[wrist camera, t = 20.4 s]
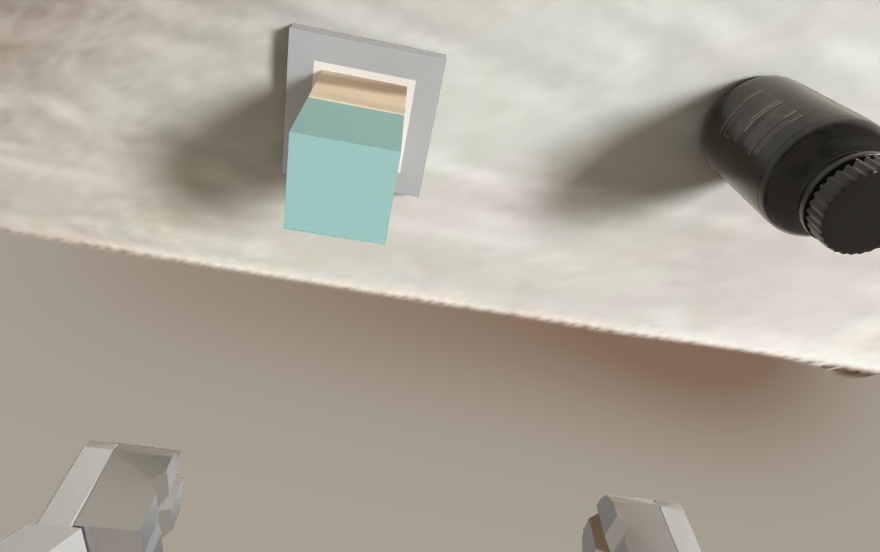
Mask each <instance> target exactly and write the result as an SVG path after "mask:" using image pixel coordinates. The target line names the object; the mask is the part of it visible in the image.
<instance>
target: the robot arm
mask: <svg viewBox="0 0 880 552" xmlns="http://www.w3.org/2000/svg"><path fill="white" fill-rule="evenodd" d="M181 463H182V459H181V451H177V450H170V449H162V448H154V447H146V446H138V445H130V444H122V443H115V442H106V441H96V440H90V441H89V442H88V443H87V444H86V445H85V446H84V447H83V448H82V450H81V451H80V453H79V455H78V456H77V458H76V459H75V461H74V463H73V464H72V466H71V468H70V469H69V471H68V473H67V474H66V476H65V478H64V479H63V481H62V482H61V484H60V486H59V487H58V489H57V491H56V492H55V494H54V496H53V497H52V499H51V500H50V502H49V504H48V505H47V507H46V509H45V510H44V512H43V514H42V515H41V517H40V519H39V520H38V522H37V523H36V524H34V523H27V524H25V525H24V526H22V527H20V528H19V529H18V530H16V531H15V532H13V533H12V534H10V535H9V536H7V537H6V538H4V539H3V540H1V541H0V552H163V545H162V538H163V537H164V536H165V535H166V534H168V533H169V532H170V531H172V530H173V527H174V525H175V522H176V519H177V516H178V513H179V510H180V505H181V502H182V497H183V487H184V486H183V477H182V476H181V475H180V474H179V473H178V470H179V468H180V466H181ZM597 509H598V514H596V515H595V516H593V517H591V518H589V519H588V521H587V523H586V525H585V527H584V530H583V537H582V550H583V552H701V550H700V548H699V546H698V543H697V541H696V538H695V536H694V534H693V532H692V529H691V527H690V524H689V522H688V519H687V517H686V515H685V512H684V510H683V508H682V507H681V506H680V505H679V504H678V503H676V502H668V501H656V500H651V499H644V498H633V497H622V496H611V495H606V496H604V497H602V498H601V499H600V500H599V502H598V504H597Z"/></svg>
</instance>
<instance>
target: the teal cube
mask: <svg viewBox="0 0 880 552" xmlns="http://www.w3.org/2000/svg"><path fill="white" fill-rule="evenodd" d="M403 125H404V115H400V114H395V113H390V112H384V111H379V110H374V109H369V108H363V107H358V106H353V105H348V104H342V103H337V102H332V101H327V100H321V99H316V98H311V97H308V98H307V100H306V102H305V104H304V105H303V107H302V109H301V111H300V113H299V115H298V117H297V118H296V120H295V122H294V124H293V126H292V128H291V129H290V131H289V144H288V162H287V179H286V196H285V214H284V229H288V230H294V231H300V232H307V233H313V234H319V235H325V236H332V237H338V238H344V239H351V240H357V241H363V242H369V243H376V244H382V245H385V242H386V237H387V231H388V225H389V219H390V213H391V208H392V202H393V196H394V190H395V185H396V179H397V173H398V167H399V162H400V156H401V148H402V136H403Z"/></svg>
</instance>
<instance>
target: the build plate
mask: <svg viewBox="0 0 880 552" xmlns="http://www.w3.org/2000/svg"><path fill="white" fill-rule="evenodd" d="M445 63H446V55H444V54H439V53H434V52H429V51H424V50H419V49H414V48H410V47H405V46H400V45H395V44H390V43H385V42H380V41H376V40H371V39H366V38H361V37H356V36H351V35H346V34H342V33H337V32H332V31H327V30H322V29H317V28H312V27H307V26H303V25H298V24H292V26H291V27H290V28H289V43H288V62H287V81H286V100H285V119H284V138H283V157H282V174H287V162H288V144H289V131H290V129H291V128H292V126H293V124H294V122H295V120H296V118H297V117H298V115H299V113H300V111H301V109H302V107H303V105H304V104H305V102H306V100H307V98H308V96H309V94H310V92H311V90H312V89H313V87H314V85H315V83H316V81H317V79H318V78H319V76H320V74H321V72H322V70H326V71H331V72H337V73H342V74H347V75H352V76H357V77H362V78H367V79H372V80H377V81H382V82H387V83H392V84H397V85H403V86H407V95H406V106H405V116H404V125H403V136H402V148H401V156H400V162H399V167H398V173H397V179H396V185H395V190H394V193H397V194H403V195H409V196H414V197H419V193H420V188H421V183H422V178H423V173H424V168H425V163H426V158H427V153H428V148H429V143H430V138H431V133H432V128H433V123H434V118H435V113H436V108H437V103H438V98H439V93H440V88H441V83H442V78H443V73H444V68H445Z"/></svg>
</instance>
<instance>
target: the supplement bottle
mask: <svg viewBox="0 0 880 552" xmlns="http://www.w3.org/2000/svg"><path fill="white" fill-rule="evenodd" d="M702 147H703V152H704V155H705V158H706V160H707V161H708V163H709V164H710V166H711V167H712V168H713V169H714V170H715V171H716V172H717V173H718V174H719V175H720V176H721V177H722V178H723V179H724V180H725V181H726V182H727V183H728V184H729V185H730V186H731V187H732V188H733V189H735V190H736V191H737V192H738V193H739V194H740V195H741V196H742V197H743V198H744V199H745V200H746V201H747V202H748V203H749V204H750V205H751V206H752V207H753V208H754V209H755V210H756V211H757V212H758V213H759V214H760V215H762V216H763V217H764V218H765V219H766V220H767V221H768V222H769V223H770V224H772V225H773V226H774V227H775V228H777V229H778V230H780V231H782V232H785V233H788V234H791V235H796V236H807V237H811V236H813V237H814V238H816V239H818V240H819V241H820V242H821V243H822V244H824V245H825V246H826V247H828V248H830V249H831V250H833V251H835V252H840V253H841V254H847V253H848V254H850V255H852V254H856V253H857V254H861V253H864V252H870V251H872V250H873V249H876V248H880V126H879V125H877V124H876V123H874V122H872V121H871V120H869V119H867V118H865V117H863V116H862V115H860V114H858V113H856V112H854V111H852V110H850V109H848V108H846V107H844V106H843V105H841V104H839V103H837V102H835V101H833V100H831V99H829V98H827V97H825V96H824V95H822V94H820V93H818V92H816V91H814V90H812V89H810V88H808V87H806V86H804V85H803V84H800V83H798V82H796V81H794V80H792V79H789V78H786V77H782V76H762V77H757V78H754V79H751V80H748V81H746V82H744V83H742V84H740V85H738V86H736V87H735V88H733V89H732V90H731V91H729V92H728V93H727V94H726V95H725V96H724V97H722V98H721V99H720V101H719V102H718V103H717V104H716V105H715V107H714V108H713V110H712V111H711V113H710V114H709V116H708V118H707V121H706V123H705V126H704V130H703V135H702Z"/></svg>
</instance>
